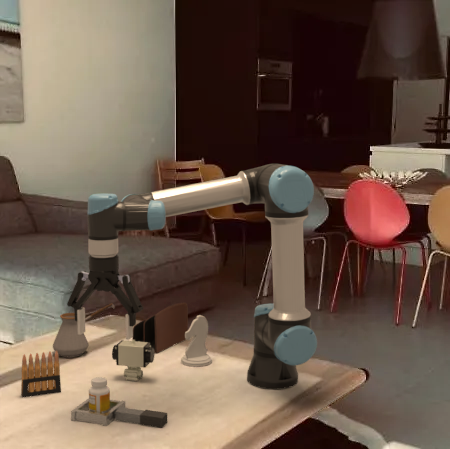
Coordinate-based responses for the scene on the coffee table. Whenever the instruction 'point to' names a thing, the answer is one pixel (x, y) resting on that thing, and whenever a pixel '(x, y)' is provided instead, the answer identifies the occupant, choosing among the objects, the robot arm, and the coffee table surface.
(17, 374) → the coffee table surface
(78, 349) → the coffee pot
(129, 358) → the pneumatic valve
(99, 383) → the supplement bottle
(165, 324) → the letter holder
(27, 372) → the ammunition clip
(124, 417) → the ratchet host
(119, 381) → the coffee table surface
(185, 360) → the chess piece
